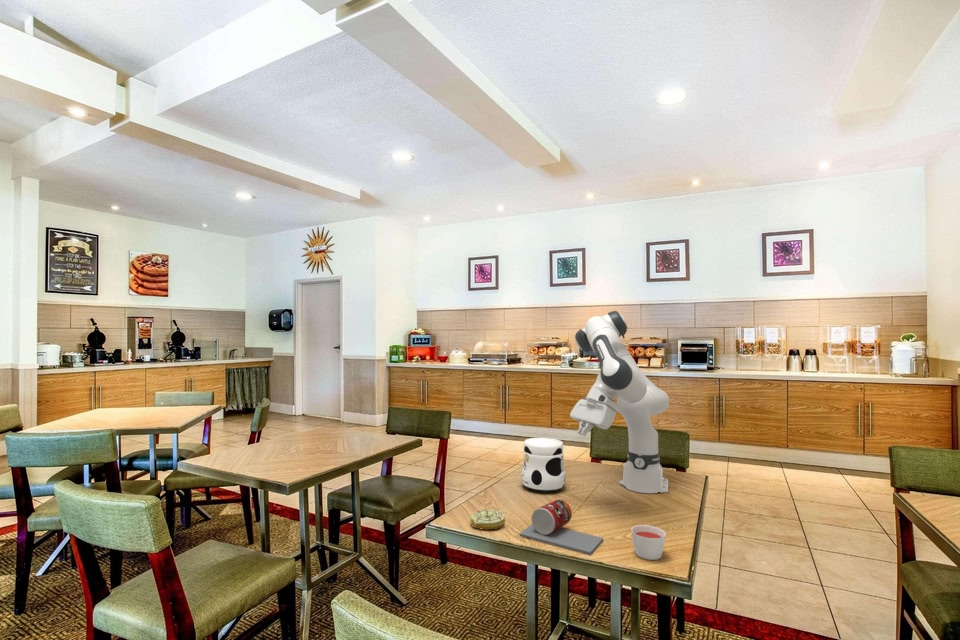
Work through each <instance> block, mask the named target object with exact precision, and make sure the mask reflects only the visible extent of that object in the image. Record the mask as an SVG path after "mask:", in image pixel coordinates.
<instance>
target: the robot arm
mask: <svg viewBox="0 0 960 640" xmlns="http://www.w3.org/2000/svg"><path fill="white" fill-rule="evenodd" d="M627 324H628V322H627V320H626V318H625V316H623V314H622V313H620V312H619V311H617V310H612V311H610V312H608V313H606V314H604V315H602V316H600V315H595V316H592V317H590V318H588V320H587V321H586V323H585V325H584V327H583V328H580V329H579V330H578V331H577V332H576V333H575V335H574V338H575V342H576V345H577V347H578V348H579V350H581V351H582V352H583V353H586V354H589V353H593V352H594V353H595V355H596V357H597V359H598V362H599V366H600V367H599V368H600V370H599V372H598V374H597V377H596V380H595V382H594V383H593V385H592V386H591V387H590V389H589V391H588V393H587V394H586V396H585V397H583V398H581V399H580V400H578V401H577V402H576V404H575V405H574V406H573V408H572V409H571V411H570V412H569V413H570V414H569V416H570V418H571V419H572V420H574V421H576V422H579V425H578V430H577V432H576V433H577V434H578V435H579V436H583V437H586V436H587V435H588V433H589V432H590V431H591V430H592V429H593V428H594V427H595V428H600V429H603V430H608V429H609V428H611V426H612V424H613V422H614V421H615V418H616V415H617V413H618V412H619V414H620V415H621V417H623V419H624V421H625V424H626V426H627V432H628V433H627V434H628V450H627V453H626V455H627V457H626V458H627V461H626V462H624V464H623V473H622V479H621V480H619V481H618V482H619V483H620V484H619V483H618V484H619V485H621V484H622V485H621V486H623V485H624V486H625V487H626V488H625V487H624V486H623V487H624V488H625V489H627V490H629V491H632V492H636V493H642V494H659V493H658V492H660V493H669V492H668V491H669V490H668V486H669V479H667V478H665V477H663V476H664V475H663V474H664V473H663V467H662V464H660V461H661V459H660V458H661V457H660V456H661V455H660V451H659V434H658V433H659V432H658V431H657V430H656V429H655V427H653V423H652V421H651V420H652V419H651V417H652V416H658V415H660V414H661V413H664V412H665V411H667V409H668V408H669V406H670V398H669V395H668V394H667V392H666V391H664V390H663V389H661V388H659V387H658V386H656V384H654V383H653V382H652V381H651V380H650V379H649V378H648V377H647V376H646V375H645V374H644V373H643V371H642V370H641V369H640V368H639V365H638V364H637V363H636V361H635V359H634V358H633V356H632V354H631V353H630V351H629V350H628V348H627V347H626V346H625V345H624V344H623V342H622V341H621V339H620V338H621V337H622V339H625V337H626V336H625V335H626V333H627V331H628V325H627ZM616 397H617V398H616ZM615 399H616V402H615V401H614V400H615Z"/></svg>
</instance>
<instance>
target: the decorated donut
mask: <svg viewBox="0 0 960 640" xmlns="http://www.w3.org/2000/svg"><path fill="white" fill-rule="evenodd" d="M470 523H471V526H472V525H473V526H472V527H474V526H475V527H477V528H482V529H495V530H498V528H499V529H500V528H502V527H503V526H504V524H505V523H506V517H505V515H504V513H503V512H502V511H499V510H498V509H492V508H490V509H488V508H487V509H481V510H477V511H476V512H474V513H472V515H471V517H470ZM475 527H474V528H475ZM477 528H476V529H477Z"/></svg>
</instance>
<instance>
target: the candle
mask: <svg viewBox="0 0 960 640" xmlns="http://www.w3.org/2000/svg"><path fill="white" fill-rule="evenodd" d="M630 530H631V537H632V542H633V547H634V552H635V555H637V556H638V557H639V558H641V559H644V560H648V561H656V560H659V559H661V558H662V555H663V551H664V546H665V541H666V534H667V532H665V531H664V530H663V529H662V528H660V527H656V526H653V525H648V524H637V525H634V526H632V527H631V529H630Z"/></svg>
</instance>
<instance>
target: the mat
mask: <svg viewBox="0 0 960 640" xmlns="http://www.w3.org/2000/svg"><path fill="white" fill-rule="evenodd" d="M519 535H520V536H523V537H522V538H524V537H526V538H525V539H528V538H530V539H529V540H531V539H533V540H532V541H535V540H537V541H536V542H539V541H540V543H543V542H544V543H543V544H546V543H547V544H548V545H551V546H555V547H558V548H561V547H562V548H563V549H566V550H569V551H573V552H576V553H580V554H585V555H588V556H591V555H592V554H594V553H595V551H596V550H597V549H598V548H599V546H600V545H601V544H602V543H603V542H604V537H602V536H597V535H592V534H589V533H585V532H581V531H577V530H571V529H568V528H564V527H560V528H559V529H557V530H555V531H554V532H552V533H550V534H548V535H543V534H540V533H539V532H537V531H536V529H535V528H534V526H533V524H530V525H528V526H527V527H526V528H525V529H523V530H522V531H521V532H519ZM519 535H518V536H519ZM520 536H519V537H520Z"/></svg>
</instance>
